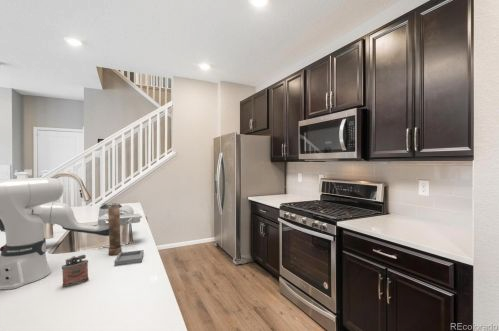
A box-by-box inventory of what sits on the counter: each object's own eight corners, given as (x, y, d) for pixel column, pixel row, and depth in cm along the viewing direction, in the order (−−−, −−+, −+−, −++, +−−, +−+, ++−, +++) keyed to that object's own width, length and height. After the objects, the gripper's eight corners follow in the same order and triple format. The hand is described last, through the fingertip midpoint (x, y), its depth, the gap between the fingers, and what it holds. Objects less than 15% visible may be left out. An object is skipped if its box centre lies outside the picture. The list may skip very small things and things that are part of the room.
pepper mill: (107, 256, 118) (105, 204, 118) (110, 252, 124) (108, 202, 123) (120, 254, 120) (119, 203, 119) (122, 250, 125) (121, 201, 125)
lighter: (62, 288, 89) (61, 261, 88) (61, 285, 91) (60, 258, 91) (89, 281, 94) (88, 255, 94) (87, 278, 97) (87, 252, 96)
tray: (114, 266, 107) (114, 261, 107) (119, 256, 117) (119, 252, 117) (141, 262, 110) (141, 258, 110) (143, 253, 120) (143, 249, 120)
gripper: (142, 221, 143) (139, 227, 130) (102, 224, 137) (94, 231, 124) (142, 210, 143) (139, 215, 130) (101, 212, 137) (94, 218, 124)
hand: (117, 223), depth 127 cm, fingers open, 8 cm apart
